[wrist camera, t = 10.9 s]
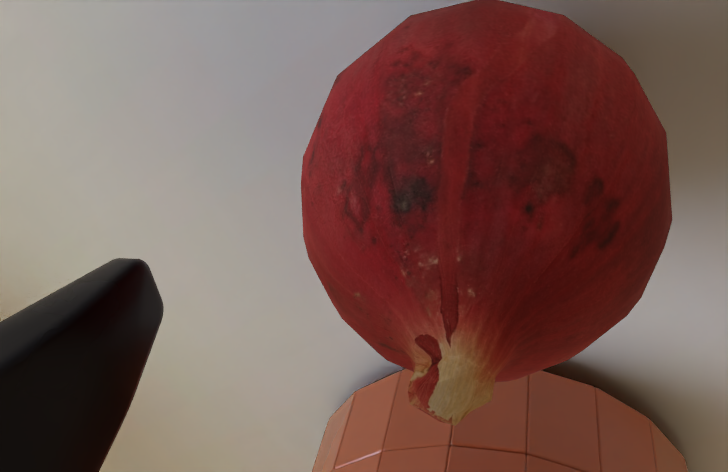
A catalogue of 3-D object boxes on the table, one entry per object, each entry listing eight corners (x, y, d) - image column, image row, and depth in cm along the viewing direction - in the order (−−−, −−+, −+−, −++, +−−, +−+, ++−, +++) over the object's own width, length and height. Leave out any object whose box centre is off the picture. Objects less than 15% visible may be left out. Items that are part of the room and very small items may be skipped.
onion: (319, -6, 13) (117, 224, 7) (625, -95, 11) (719, 119, 5) (401, 227, 16) (311, 532, 10) (655, 190, 14) (737, 545, 8)
